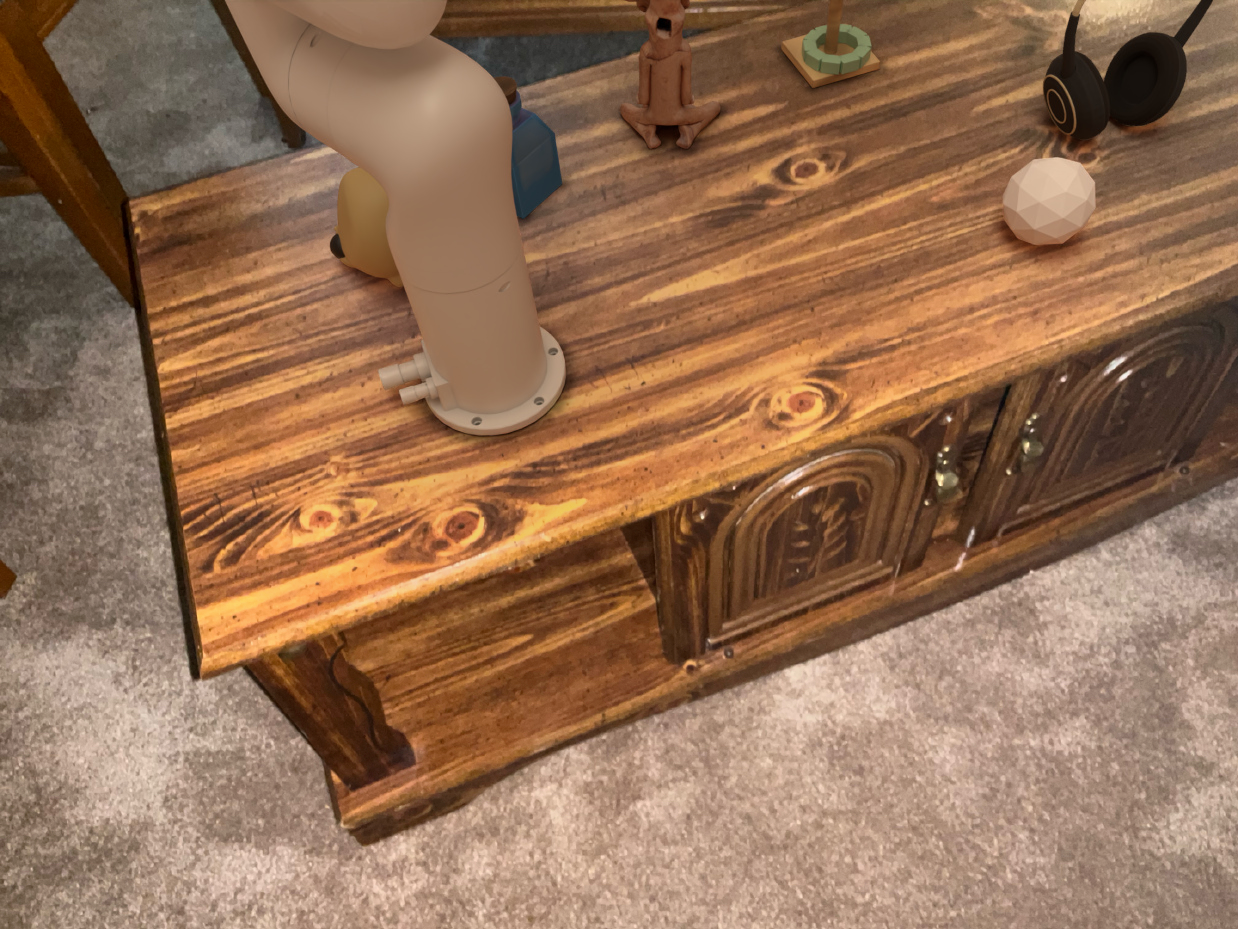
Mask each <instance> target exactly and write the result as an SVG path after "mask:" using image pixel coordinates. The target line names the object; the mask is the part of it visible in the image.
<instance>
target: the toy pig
mask: <svg viewBox="0 0 1238 929" xmlns="http://www.w3.org/2000/svg"><path fill="white" fill-rule="evenodd" d="M337 193H338V194H337V202H336V203H337V204H336V217H337V218H336V219H337V225H335V226H334V227H333V231H335V233H334V235H333V236H332V237H331V238H330V241H329V250H330V252H331V254H332V255H333V256H334V257H335V258H336V259H338V260H339V261H340V262H341V263H342V264H343V265H344V266H347V267H349V268H352V269H357V270H359V271H360V272H363V273H364V274H367V275H369V276H372V277H375V278H379V279H380V278H381V279H387V280H389V282H390V283H391V284H392V285H393V286H394V287H397V288H403V287H404V285H403V282H402V280H401V277H400V274H399V271H398V269H397V267H396V264H395V261H394V259H393V256H392V253H391V250H390V247H389V244H388V239H387V235H386V227H385V226H386V216H387V212H388V209H389V199H388V196H387V194H386V192H385V190H384V189H383V187H382V186H381V185H380V183H379V182H378V181H377V180H376V179H375V178H374V177H372V176H371V175H370V174H369V173H367V172H366V171H365V170H363V169H362V168H360V167H359V166H357V167H354V168H353V169H350V170H349V171H347V172H346V173H345V174H344V175H343V176H342V178H341V179H340V182H339V185H338V192H337Z"/></svg>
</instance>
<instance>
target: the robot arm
mask: <svg viewBox="0 0 1238 929" xmlns="http://www.w3.org/2000/svg"><path fill="white" fill-rule="evenodd" d="M224 2H225V4H226V5H227V8H228V10H229V12H230V14H231V17H232V19H233V21H234V22H235V25H236V26H237V28H238V30H239V32H240V35H241V36H242V39H243V41H244V43H245V45H246V48H247V50H248V51H249V53H250V55H251V57H252V59H253V61H254V63H255V65H256V67H257V69H258V71H259V73H260V75H261V77H262V79H263V81H264V83H265V85H266V86H267V88H268V90H269V92H270V93H271V95H272V97H273V98H274V100H275V102H276V103H277V104H278V106H279V107H280V109H281V110H282V112H283V113H284V114H285V115H286V116H287V117H288V118H289V119H290V120H291V121H292V122H293V123H294V124H296V126H298V127H299V128H300V129H302V130H303V131H304V132H305V133H307V134H308V135H310V136H311V137H313V138H314V139H316V140H317V141H319V142H320V143H321V144H323V145H325V146H327V147H329V149H332V150H333V151H334V152H336V153H338V154H340V155H341V156H342V157H344V158H346V159H347V160H348V161H349V162H351V163H352V164H353V165H356V166H357V167H360V168H362V169H363V170H365V171H366V172H367V173H369V174H370V175H371V176H372V177H374V178H375V179H376V180H377V181H378V182H379V183H380V185H381V186H382V187H383V189H384V190H385V192H386V194H387V196H388V199H389V209H388V212H387V216H386V226H385V227H386V235H387V239H388V244H389V247H390V250H391V253H392V256H393V259H394V261H395V264H396V267H397V269H398V271H399V274H400V277H401V280H402V282H403V285H404V286H403V287H404V290H405V293H406V296H407V298H408V301H409V302H408V303H409V304H410V307H411V310H412V312H413V315H414V318H415V321H416V324H417V326H418V330H419V332H420V335H421V337H422V339H420V344H421V347H422V350H423V351H421V352H418V353H415V354H412V357H413V359H411V360H408V361H404V362H401V363H397V362H396V363H394V364H391V365H387V366H384V367H381V368H378V369H377V373H378V376H379V379H380V382H381V384H382V387H383V389H384V391H386V392H387V391H389V390H392V389H395V388H399V387H402V386H405V385H406V384H408V383H410V382H414V381H417V380H421V383H419V384H418V383H417V384H416V385H413V384H412V385H410V386H407V387H403V388H401V389H399V390H398V393H399V396H400V399H401V402H402V404H403V406H406V405H409V404H412V403H416V402H418V401H419V400H422V399H425V402H426V404H427V406H428V408H429V409H430V411H431V412H432V414H433V415H434V417H436V419H438V420H439V421H440V422H442V423H443V424H444V425H446V426H448V427H450V428H451V429H453V430H455V431H458V432H461V433H465V434H467V435H475V436H498V435H504V434H508V433H509V434H510V433H511V432H515V431H518V430H521V429H523V428H525V427H527V426H529V425H531V424H533V423H535V422H536V421H538V420H539V419H541V418H542V417H543V416H544V415H546V414H547V413H548V412H549V411H550V409H552V408H553V406H555V404H556V402H557V401H558V399H559V398H560V396H561V394H562V392H563V389H564V388H565V385H566V379H567V368H566V366H567V365H566V360H565V355H564V351H563V350H562V347H561V346H560V343H559V341H557V339H556V338H555V337H554V335H552V333H550V332H549V331H547V330H546V329H545V328H544V327H542V326H541V325H540V322H539V317H538V311H537V307H536V303H535V302H536V301H535V298H534V292H533V288H532V282H531V277H530V273H529V269H528V264H527V258H526V253H525V249H524V245H523V239H522V235H521V231H520V226H519V225H520V224H519V221H518V216H517V215H516V209H515V204H514V197H513V189H512V177H511V155H512V116H511V112H510V108H509V104H508V101H507V99H506V97H505V95H504V93H503V91H502V89H501V88H500V86H499V85H498V83H497V82H496V81H495V80H494V78H495V77H493V76H492V75H491V74H490V72H488V71H487V70H486V69H485V68H484V67H483V66H482V65H480V64H479V63H478V62H477V61H476V60H474V59H473V58H471V57H470V56H468V54H465V53H464V52H462V51H461V50H459V49H457V48H455V47H454V46H452V45H450V44H449V43H446V42H445V41H443V40H441V39H438V38H437V37H435V36H433V35H431V34H432V32H433V31H434V30H435V29H436V27H437V26H438V25H439V22H440V21H441V20H442V17H443V15H444V14H445V10H446V7H447V3H448V0H224Z"/></svg>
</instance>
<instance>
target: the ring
mask: <svg viewBox="0 0 1238 929" xmlns="http://www.w3.org/2000/svg"><path fill="white" fill-rule="evenodd" d="M845 24H846V23H840V30H839V38H838V43H845V44H847V45H849V46H851V47H852V48H854V49H855V50H854V51H853V52H852V53H849V54H845V55H841V56H837V55H829V54H825V53H823V52H822V51H820V50H819V49H818V47H819V46H820V45H823V44H825V37H826V28H827V24H825V25H824V24H823V25H820V26H817V27H814V29H812V28H811V29H810V31H809V32H808V33H807V34H805V35H806V36H805V37H804V38H803V41H802V56H803V61H804V62H805V64H806V65H808V66H810V67H811V68H813V69H814V70H816V71H819V70H820V73H827V74H836V75H839V72H840V73H841V74H846V73H849V72H853V71H857V70H858V69H859V68H860V69H861V68H862V67H863V66H864V65H865V63H866V62H867V61H868V60H869V58H870V54H871V52H872V47H873V46H872V45H873V44H872V41H871V38H870V35H869V34H868V33H867V32H866V31H863V30H862V29H860V28H859V27H857V26H852V24H847V25H845Z"/></svg>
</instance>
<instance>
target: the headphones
mask: <svg viewBox="0 0 1238 929" xmlns="http://www.w3.org/2000/svg"><path fill="white" fill-rule="evenodd" d="M1086 1H1087V0H1077V2H1076V3H1075V5H1074V7H1073V9H1072V11H1070V13H1069V17H1068V21H1067V25H1066V28H1065V32H1064V37H1063V45H1062V46H1063V47H1062V53H1061V54H1059V55H1057V56H1056V57H1055V58H1054V59H1052V60H1051V62H1050V64H1049V66H1048V68H1047V70H1046V73H1045V76H1044V79H1043V82H1042V95H1043V100H1044V102H1045V103H1044V104H1045V107H1046V109H1047V112H1048V114H1049V116H1050V118H1051V120H1052V122H1053V123H1054V125H1055V126H1056V128H1057V129H1058V130H1059V131H1060V132H1061V133H1063V134H1064V135H1067V136H1070V137H1072V138H1074V139H1077V140H1081V141H1088V140H1091V139H1093V138H1094V137H1097V136H1099V135H1100V134H1102V132H1103V131H1104V130H1105V129H1106V128H1107V126H1108V123H1109V120H1110V118H1112V119H1113V120H1114V121H1116V122H1117V123H1118V124H1121V125H1122V126H1127V127H1144V126H1148V125H1150V124H1153V123H1155V122H1156V121H1158V120H1160V119H1161V118H1163V117H1164V116H1166V114H1168V112H1170V110H1172V108H1173V107H1174V105H1175V104H1176V102H1177V101H1178V99H1179V98H1180V96H1181V93H1182V92H1183V89H1184V87H1185V83H1186V81H1187V74H1188V63H1187V62H1188V61H1187V56H1186V53H1185V50H1184V46H1186V44H1187V42H1188V41H1189V39H1190V38H1191V36H1192V35H1193V34H1194V32H1195V31H1196V29H1197V27H1198V26H1199V24H1200V23H1201V22H1202V20H1203V18H1204V17H1205V15H1206V13H1207V12H1208V11H1209V9H1210V6H1211V5H1212V3H1213V2H1214V0H1200V1H1199V2H1198V3H1197V5H1196V6H1195V8H1194V9H1193V11H1192V12H1191V13H1190V15H1189V16H1188V17H1187V19H1186V20H1185V21H1184V22H1183V24H1182V25H1181V26H1180V28H1179V29H1178V30H1177V32H1176V33H1175V35H1174V36H1172V35H1169V34H1167V33H1164V32H1156V31H1148V32H1143V33H1141V34H1139V35H1136V36H1134V37H1133V38H1131V39H1129V40H1128V41H1127V42H1125V43H1124V44H1123V45H1122V46H1121V47H1120V48H1119V49H1118V50H1117V51H1116V53H1115V54H1114V55H1113V57H1112V59H1111V60H1110V62H1109V63H1108V66H1107V69H1106V72H1105V75H1104V78H1103V76H1102V75H1101V73H1100V70H1098V68H1097V66H1096V64H1094V62H1093V61H1092V60H1091V59H1090V58H1089V56H1087V55H1086V54H1084V53H1082V52H1080V51H1076V37H1077V31H1078V25H1079V22H1080V18H1081V14H1080V13H1081V11H1082V8H1083V6H1084V4H1085V2H1086Z"/></svg>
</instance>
